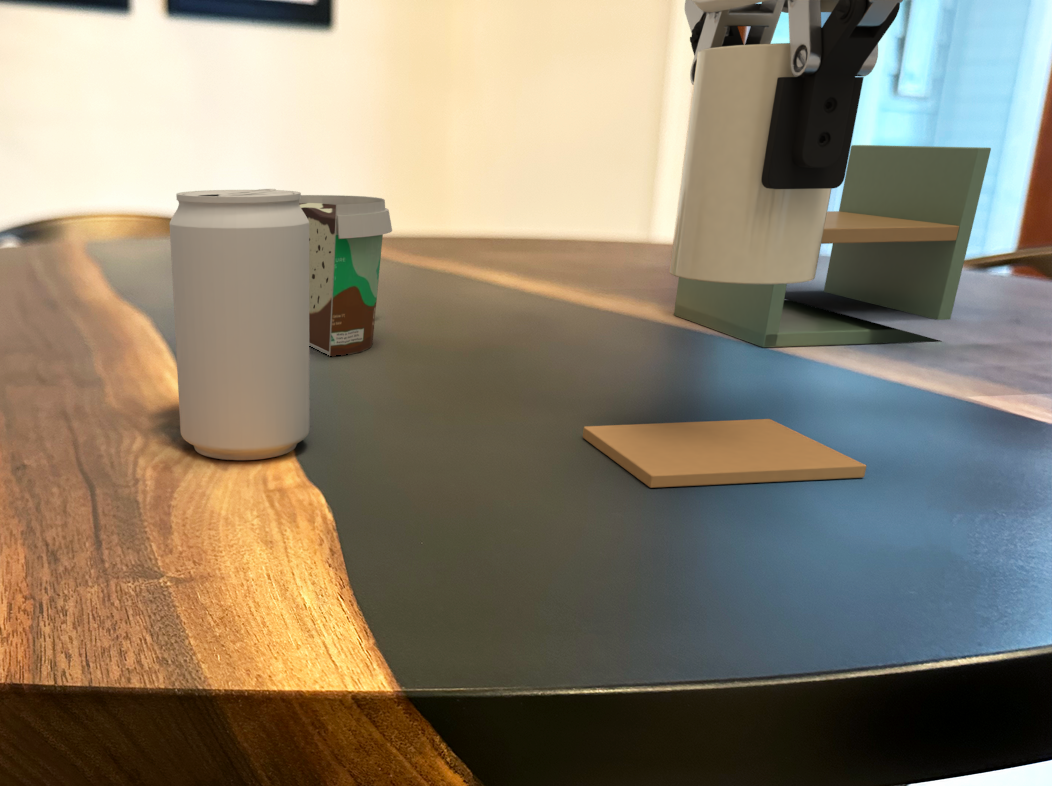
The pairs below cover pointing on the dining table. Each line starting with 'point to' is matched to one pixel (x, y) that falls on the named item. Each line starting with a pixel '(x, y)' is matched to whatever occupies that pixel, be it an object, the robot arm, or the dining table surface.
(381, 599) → the dining table surface
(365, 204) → the food container
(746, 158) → the cream cylinder
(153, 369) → the dining table surface
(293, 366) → the beverage can
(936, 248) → the rack
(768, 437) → the mat
